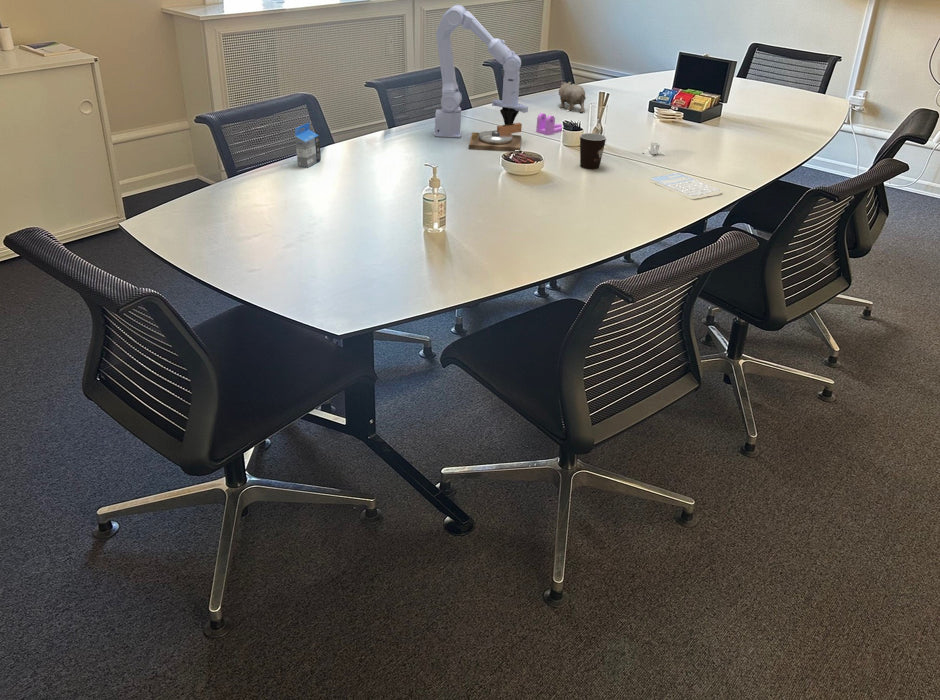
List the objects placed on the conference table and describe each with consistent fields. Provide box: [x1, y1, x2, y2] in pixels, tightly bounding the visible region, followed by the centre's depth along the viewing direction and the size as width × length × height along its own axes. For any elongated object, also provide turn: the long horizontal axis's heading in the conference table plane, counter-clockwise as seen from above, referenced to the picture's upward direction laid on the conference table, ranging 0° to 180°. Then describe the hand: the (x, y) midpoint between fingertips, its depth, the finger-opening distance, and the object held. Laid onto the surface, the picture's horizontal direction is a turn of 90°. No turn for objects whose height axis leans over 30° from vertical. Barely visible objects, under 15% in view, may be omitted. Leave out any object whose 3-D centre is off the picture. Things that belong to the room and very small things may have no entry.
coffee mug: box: [579, 132, 607, 170], centre depth 272 cm, size 12×9×10 cm
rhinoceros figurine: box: [558, 81, 587, 113], centre depth 340 cm, size 9×15×17 cm
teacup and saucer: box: [646, 142, 661, 155], centre depth 289 cm, size 9×8×4 cm
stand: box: [468, 132, 522, 152], centre depth 291 cm, size 18×16×3 cm
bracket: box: [535, 112, 563, 136], centre depth 309 cm, size 13×6×7 cm, turn 135°
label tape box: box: [294, 121, 322, 169], centre depth 261 cm, size 9×4×12 cm, turn 160°
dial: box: [479, 122, 523, 144], centre depth 292 cm, size 17×12×4 cm
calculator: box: [649, 172, 721, 197], centre depth 258 cm, size 13×20×2 cm, turn 32°
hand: (508, 129), depth 296 cm, fingers closed
